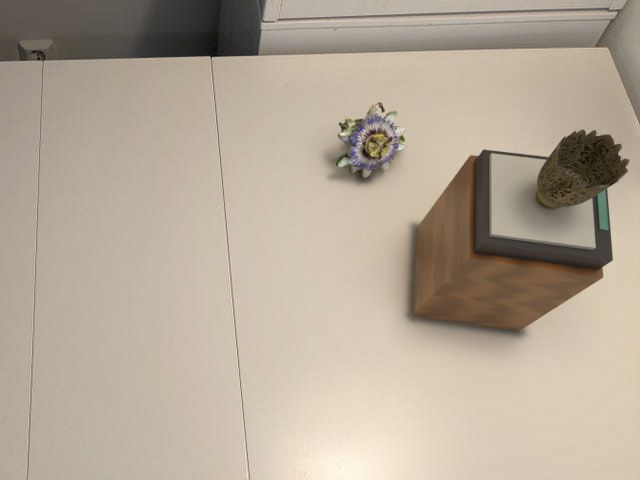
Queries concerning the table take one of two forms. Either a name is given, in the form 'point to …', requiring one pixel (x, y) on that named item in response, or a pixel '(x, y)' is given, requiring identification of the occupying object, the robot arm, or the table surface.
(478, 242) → the kitchen scale
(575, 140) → the sea sponge
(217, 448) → the table surface
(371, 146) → the passion flower
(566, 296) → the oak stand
